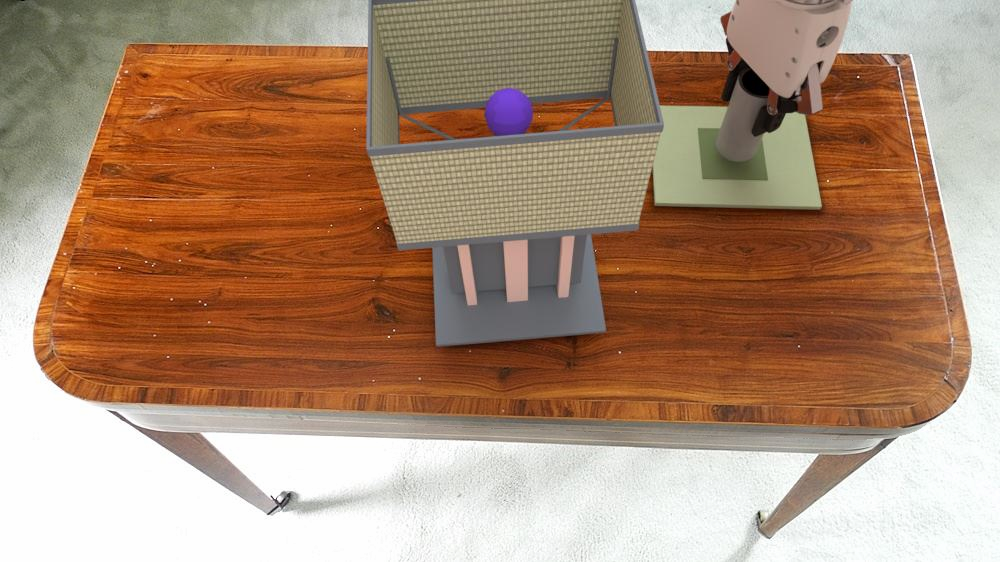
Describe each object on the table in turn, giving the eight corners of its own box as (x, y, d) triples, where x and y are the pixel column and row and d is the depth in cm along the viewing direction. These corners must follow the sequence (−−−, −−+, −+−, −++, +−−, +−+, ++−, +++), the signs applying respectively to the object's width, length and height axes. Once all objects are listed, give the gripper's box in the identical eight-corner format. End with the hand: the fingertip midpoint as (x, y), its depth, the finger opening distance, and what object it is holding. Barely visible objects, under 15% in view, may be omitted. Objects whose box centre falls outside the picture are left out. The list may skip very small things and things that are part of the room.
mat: (802, 111, 86) (804, 107, 86) (820, 209, 80) (822, 206, 79) (648, 108, 87) (649, 104, 87) (654, 206, 81) (655, 202, 80)
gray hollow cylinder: (711, 157, 81) (734, 92, 72) (719, 126, 83) (742, 59, 74) (753, 166, 80) (781, 102, 71) (759, 135, 82) (788, 69, 73)
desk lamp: (430, 355, 73) (366, 153, 44) (426, 235, 80) (368, -8, 51) (611, 339, 73) (665, 128, 44) (592, 222, 80) (628, -29, 51)
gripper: (913, 11, 57) (830, 155, 74) (780, -105, 65) (731, 48, 81) (837, 45, 56) (769, 184, 72) (710, -78, 63) (674, 73, 80)
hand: (749, 111), depth 76 cm, fingers closed on gray hollow cylinder, 4 cm apart
